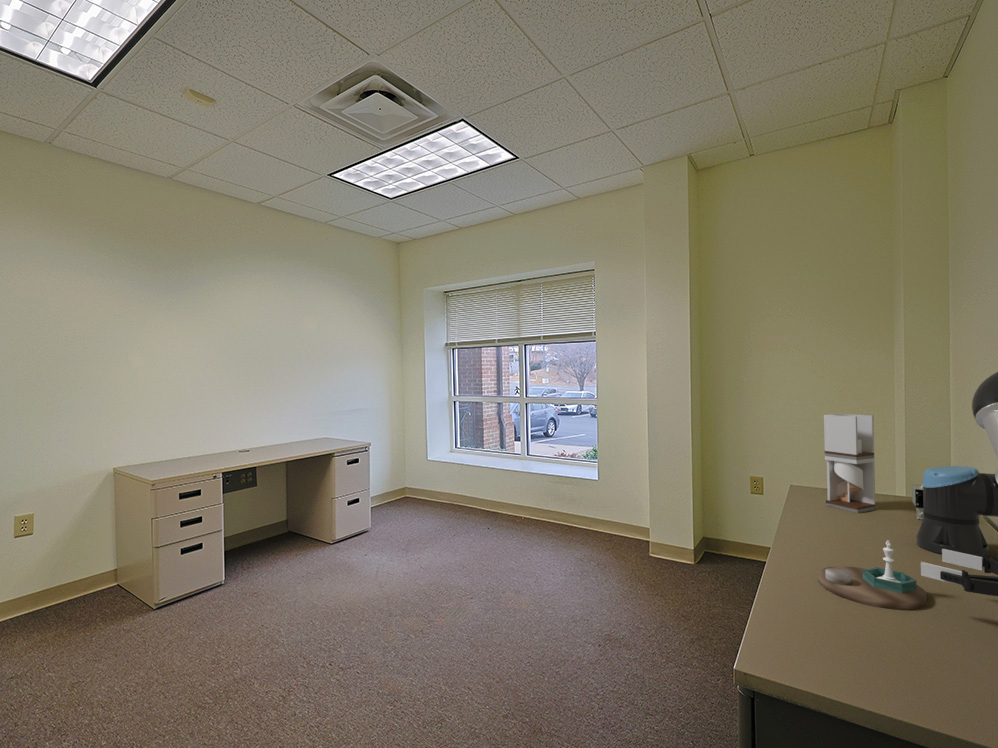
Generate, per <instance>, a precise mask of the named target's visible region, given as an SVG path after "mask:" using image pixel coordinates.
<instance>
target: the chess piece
mask: <svg viewBox="0 0 998 748" xmlns="http://www.w3.org/2000/svg"><path fill="white" fill-rule="evenodd" d="M885 545H886V547H883V548H882V550H883V553H884V555H885V557H882V560H883V561H885V566H884V567H885V568H884V569H885V574H884V575H883V576H882V577H877V578H879V579H884V580H889V581H894V582H899V583H901V581H899V580H897V579H895V577H894V576H893V571H894V570H893V567H892V566H893V564H892V563H895V559H894V558H892V557H893V554H894V552H895V550H894V549H893V548H891V546H892V545H891V542H890V540H888V539H887V540H886V542H885Z"/></svg>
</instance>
